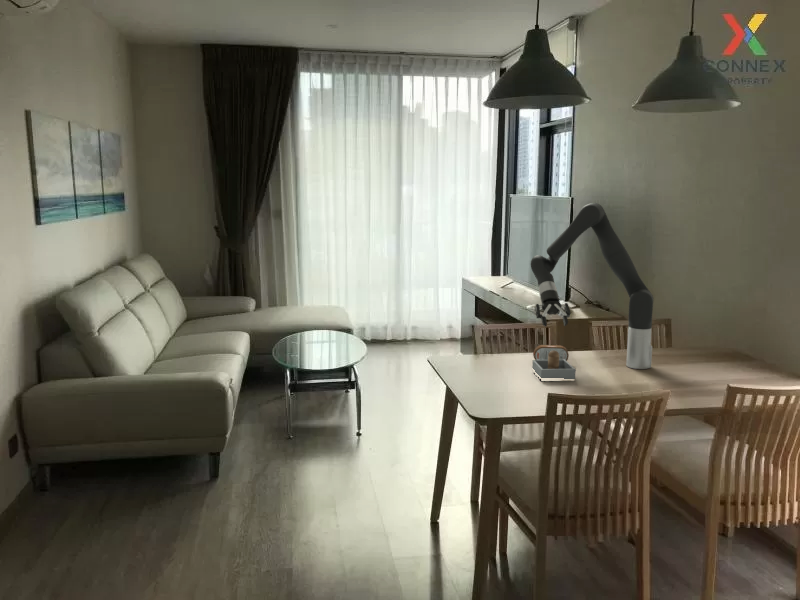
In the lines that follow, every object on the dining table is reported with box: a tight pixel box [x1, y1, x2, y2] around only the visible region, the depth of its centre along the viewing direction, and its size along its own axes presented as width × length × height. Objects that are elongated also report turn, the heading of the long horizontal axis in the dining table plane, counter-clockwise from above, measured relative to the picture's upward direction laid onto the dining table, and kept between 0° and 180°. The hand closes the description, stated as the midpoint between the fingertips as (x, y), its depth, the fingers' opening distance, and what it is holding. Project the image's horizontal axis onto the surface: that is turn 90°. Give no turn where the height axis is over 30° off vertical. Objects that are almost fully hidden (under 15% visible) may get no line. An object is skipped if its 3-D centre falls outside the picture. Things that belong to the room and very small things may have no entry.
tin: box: [532, 344, 570, 362], centre depth 276 cm, size 15×3×8 cm, turn 84°
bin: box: [531, 359, 576, 380], centre depth 258 cm, size 14×15×5 cm
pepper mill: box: [548, 350, 559, 369], centre depth 258 cm, size 4×4×10 cm
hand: (555, 325), depth 267 cm, fingers open, 8 cm apart
